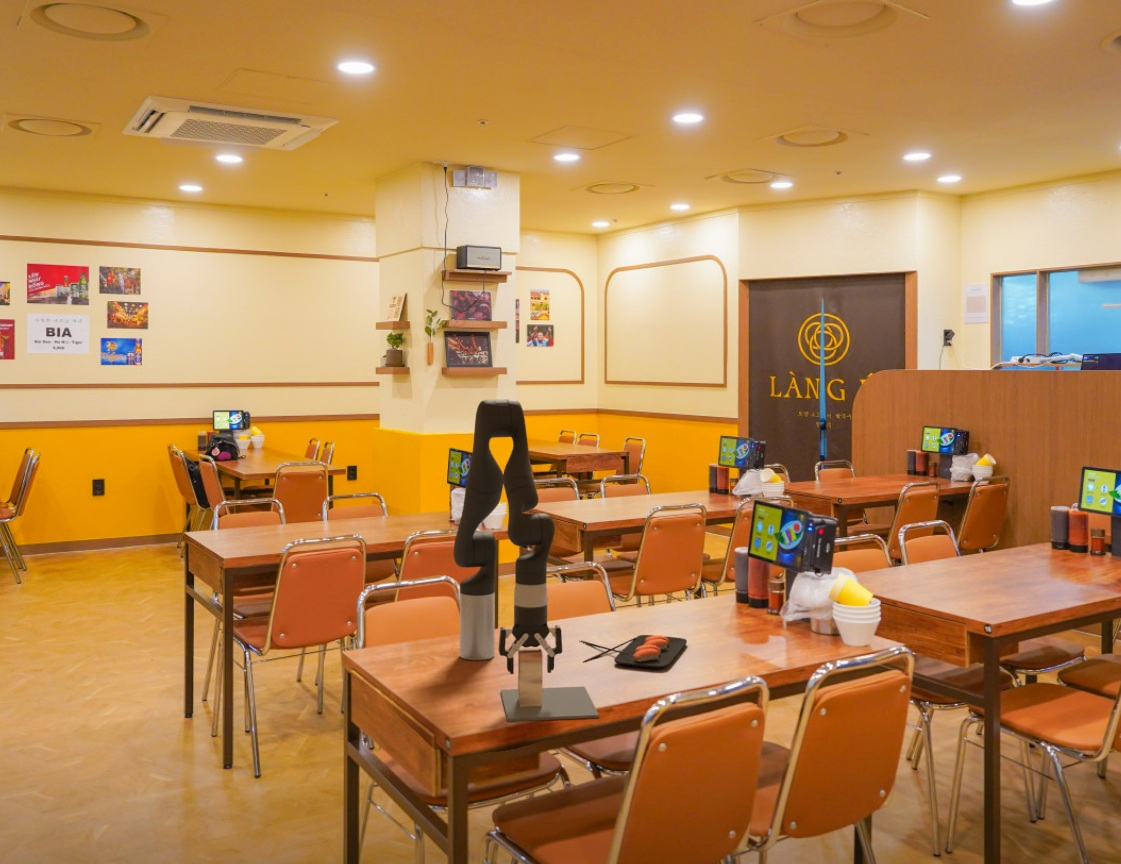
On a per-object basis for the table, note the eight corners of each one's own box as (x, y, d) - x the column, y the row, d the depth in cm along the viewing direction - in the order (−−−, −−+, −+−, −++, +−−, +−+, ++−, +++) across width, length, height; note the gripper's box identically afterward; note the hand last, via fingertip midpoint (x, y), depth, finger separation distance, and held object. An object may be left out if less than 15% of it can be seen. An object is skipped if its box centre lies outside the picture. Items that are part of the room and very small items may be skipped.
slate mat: (500, 692, 231) (500, 689, 231) (584, 688, 233) (584, 686, 233) (507, 721, 211) (507, 718, 211) (598, 717, 213) (598, 714, 213)
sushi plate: (666, 674, 247) (666, 659, 247) (554, 662, 256) (554, 648, 256) (689, 645, 274) (689, 631, 274) (587, 635, 284) (587, 622, 284)
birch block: (518, 699, 224) (518, 647, 223) (539, 698, 224) (540, 646, 224) (520, 706, 219) (520, 653, 218) (542, 705, 219) (542, 652, 219)
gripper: (559, 597, 225) (559, 666, 226) (498, 598, 223) (497, 668, 224) (564, 605, 217) (563, 676, 218) (500, 606, 216) (500, 678, 217)
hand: (530, 672), depth 221 cm, fingers open, 8 cm apart
